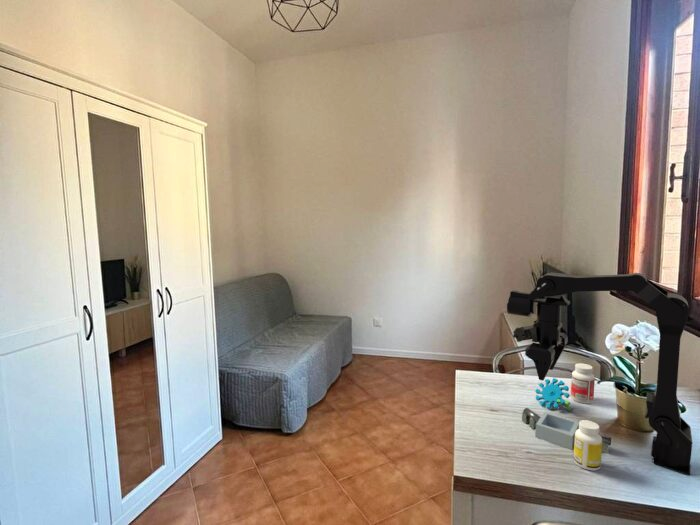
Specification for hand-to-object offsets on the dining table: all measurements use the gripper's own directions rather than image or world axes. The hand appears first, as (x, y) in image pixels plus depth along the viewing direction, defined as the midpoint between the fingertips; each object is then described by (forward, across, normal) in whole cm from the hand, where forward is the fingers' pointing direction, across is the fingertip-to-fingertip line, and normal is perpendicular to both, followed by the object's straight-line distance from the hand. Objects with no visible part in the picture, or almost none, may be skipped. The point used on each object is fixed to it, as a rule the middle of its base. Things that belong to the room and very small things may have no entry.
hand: (546, 374), depth 104 cm
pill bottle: (+15, -23, +5) cm, 28 cm away
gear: (+15, -13, -1) cm, 19 cm away
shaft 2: (+14, +4, +12) cm, 19 cm away
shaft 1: (+14, +3, -2) cm, 15 cm away
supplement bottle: (+15, +12, +12) cm, 23 cm away
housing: (+14, +4, +4) cm, 16 cm away
